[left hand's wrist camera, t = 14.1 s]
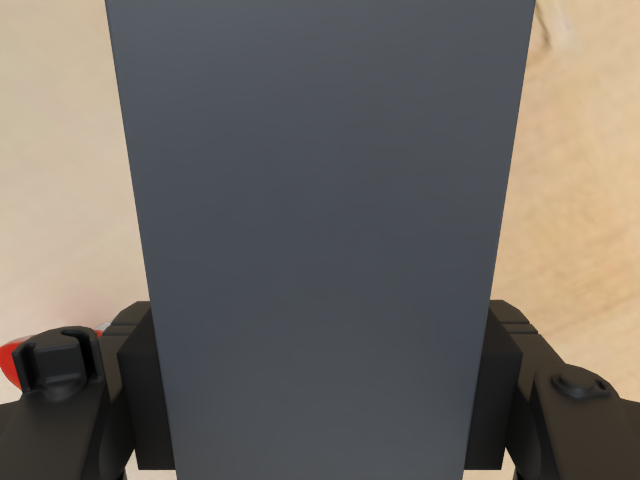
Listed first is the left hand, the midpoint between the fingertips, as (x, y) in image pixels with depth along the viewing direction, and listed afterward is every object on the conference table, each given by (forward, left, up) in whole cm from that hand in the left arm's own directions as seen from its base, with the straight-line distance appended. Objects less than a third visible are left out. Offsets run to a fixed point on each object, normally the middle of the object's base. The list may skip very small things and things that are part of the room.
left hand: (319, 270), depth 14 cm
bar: (-4, +36, -1) cm, 37 cm away
